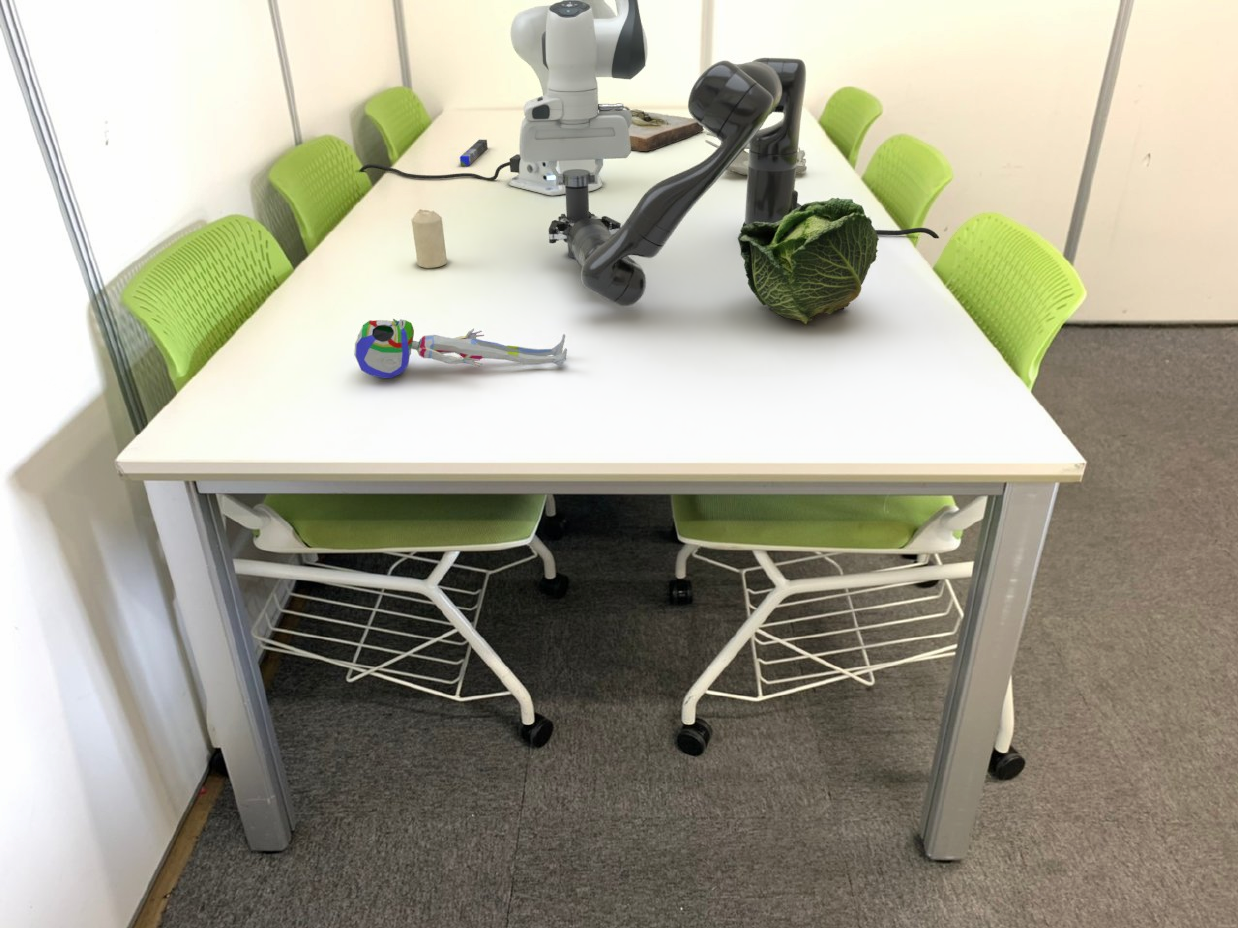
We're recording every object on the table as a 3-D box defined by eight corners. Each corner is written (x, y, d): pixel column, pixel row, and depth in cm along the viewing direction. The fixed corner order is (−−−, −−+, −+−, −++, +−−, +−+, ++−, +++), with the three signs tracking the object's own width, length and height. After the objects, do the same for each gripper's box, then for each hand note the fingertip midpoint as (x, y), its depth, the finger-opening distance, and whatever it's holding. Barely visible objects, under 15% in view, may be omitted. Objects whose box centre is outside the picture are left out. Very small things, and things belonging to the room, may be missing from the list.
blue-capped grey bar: (486, 139, 247) (467, 157, 231) (487, 147, 249) (468, 166, 232) (479, 139, 248) (459, 157, 231) (479, 147, 249) (460, 166, 232)
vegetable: (766, 338, 156) (713, 238, 148) (856, 276, 157) (807, 174, 149) (821, 359, 137) (763, 246, 129) (922, 289, 138) (870, 173, 131)
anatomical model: (707, 129, 226) (808, 127, 222) (707, 166, 231) (805, 165, 227) (703, 143, 213) (809, 141, 210) (703, 182, 218) (807, 181, 215)
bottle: (590, 251, 175) (587, 173, 167) (590, 258, 172) (588, 179, 163) (568, 252, 175) (564, 173, 167) (568, 259, 171) (564, 180, 163)
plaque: (647, 125, 237) (559, 112, 252) (647, 153, 241) (560, 139, 256) (706, 107, 258) (622, 97, 273) (705, 133, 262) (622, 121, 277)
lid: (557, 185, 165) (556, 174, 164) (571, 178, 169) (571, 168, 168) (581, 188, 163) (581, 177, 162) (595, 181, 167) (595, 170, 166)
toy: (569, 347, 126) (349, 329, 122) (563, 400, 131) (350, 385, 126) (565, 318, 135) (359, 301, 130) (559, 369, 139) (360, 354, 134)
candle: (452, 259, 172) (446, 207, 166) (438, 269, 167) (431, 216, 162) (426, 257, 173) (419, 205, 168) (412, 266, 169) (404, 213, 163)
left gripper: (629, 99, 162) (630, 177, 169) (516, 103, 160) (521, 182, 168) (633, 106, 157) (634, 186, 164) (516, 110, 155) (522, 191, 162)
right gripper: (632, 221, 157) (611, 195, 171) (552, 228, 155) (537, 201, 169) (632, 262, 161) (611, 233, 175) (554, 270, 159) (539, 240, 173)
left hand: (576, 184), depth 166 cm, fingers closed on lid, 5 cm apart
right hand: (575, 218), depth 172 cm, fingers closed on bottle, 4 cm apart
